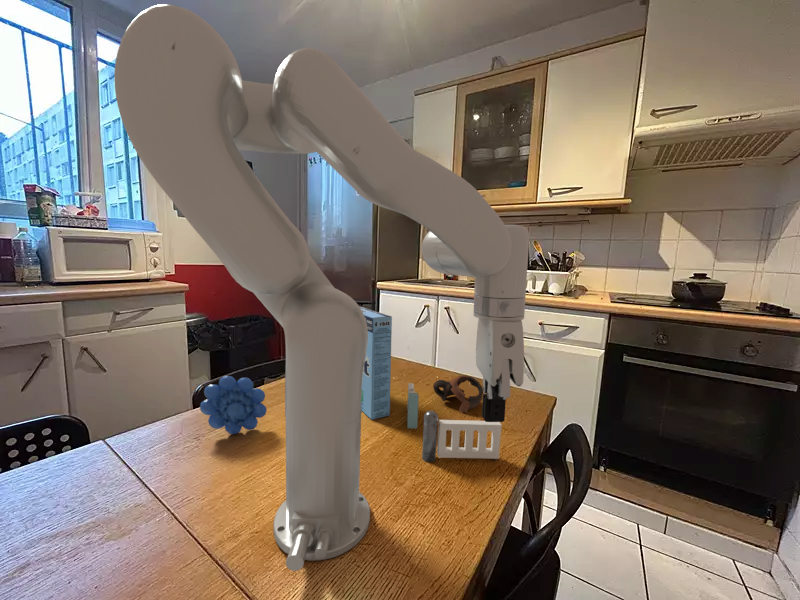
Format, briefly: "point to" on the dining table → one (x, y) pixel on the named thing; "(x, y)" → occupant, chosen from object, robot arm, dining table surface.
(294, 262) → the robot arm
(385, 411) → the gum box
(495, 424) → the gate
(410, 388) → the fence panel
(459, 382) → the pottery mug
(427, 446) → the hinge post
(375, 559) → the dining table surface
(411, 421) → the block
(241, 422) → the blue flower
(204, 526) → the dining table surface
